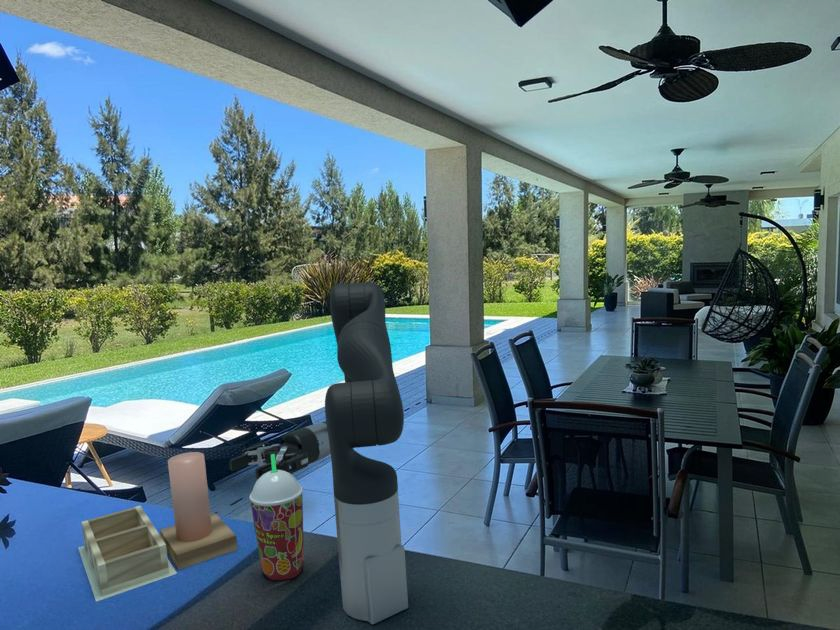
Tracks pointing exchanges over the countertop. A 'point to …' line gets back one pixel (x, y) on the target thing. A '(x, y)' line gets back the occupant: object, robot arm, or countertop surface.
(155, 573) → the caddy
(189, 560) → the board
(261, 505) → the smoothie
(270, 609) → the countertop surface
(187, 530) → the pink cylinder
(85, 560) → the mat
